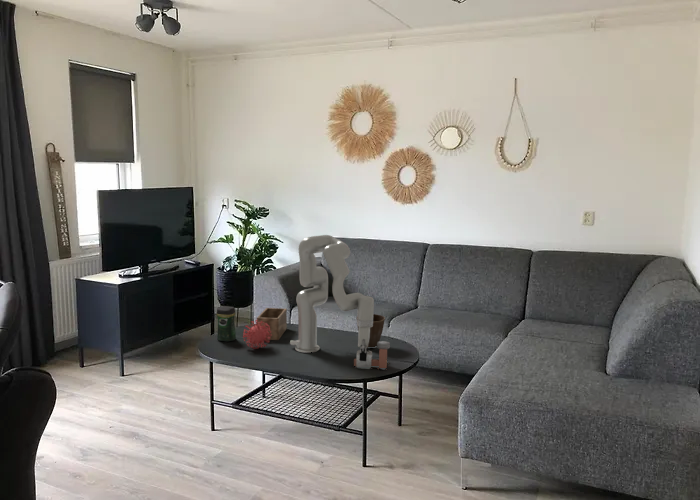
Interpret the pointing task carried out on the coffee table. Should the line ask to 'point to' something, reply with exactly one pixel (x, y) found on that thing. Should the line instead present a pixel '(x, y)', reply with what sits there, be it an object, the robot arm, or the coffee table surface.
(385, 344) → the brown mallet
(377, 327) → the plant pot
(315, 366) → the coffee table surface
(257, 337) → the virus model
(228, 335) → the coffee jar
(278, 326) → the wooden crate
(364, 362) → the block
